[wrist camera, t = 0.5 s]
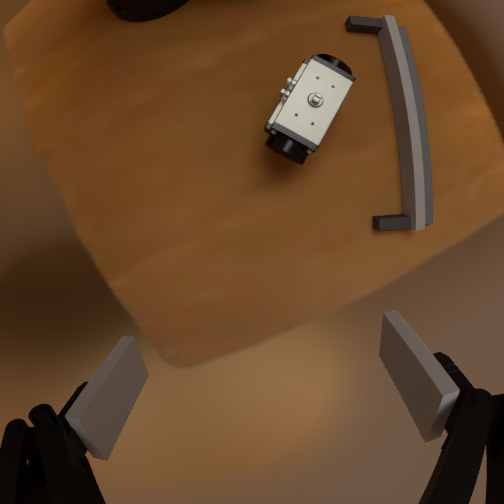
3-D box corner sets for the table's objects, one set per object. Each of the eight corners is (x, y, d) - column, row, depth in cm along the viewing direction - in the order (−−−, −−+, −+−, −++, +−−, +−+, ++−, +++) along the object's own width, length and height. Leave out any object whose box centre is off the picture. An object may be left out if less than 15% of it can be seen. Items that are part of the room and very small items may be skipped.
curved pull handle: (345, 23, 31) (352, 10, 27) (402, 30, 30) (413, 19, 26) (372, 227, 38) (383, 232, 34) (429, 222, 38) (443, 227, 34)
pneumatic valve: (336, 94, 34) (365, 64, 22) (295, 167, 37) (310, 164, 25) (299, 73, 33) (313, 35, 22) (256, 147, 36) (254, 134, 24)
